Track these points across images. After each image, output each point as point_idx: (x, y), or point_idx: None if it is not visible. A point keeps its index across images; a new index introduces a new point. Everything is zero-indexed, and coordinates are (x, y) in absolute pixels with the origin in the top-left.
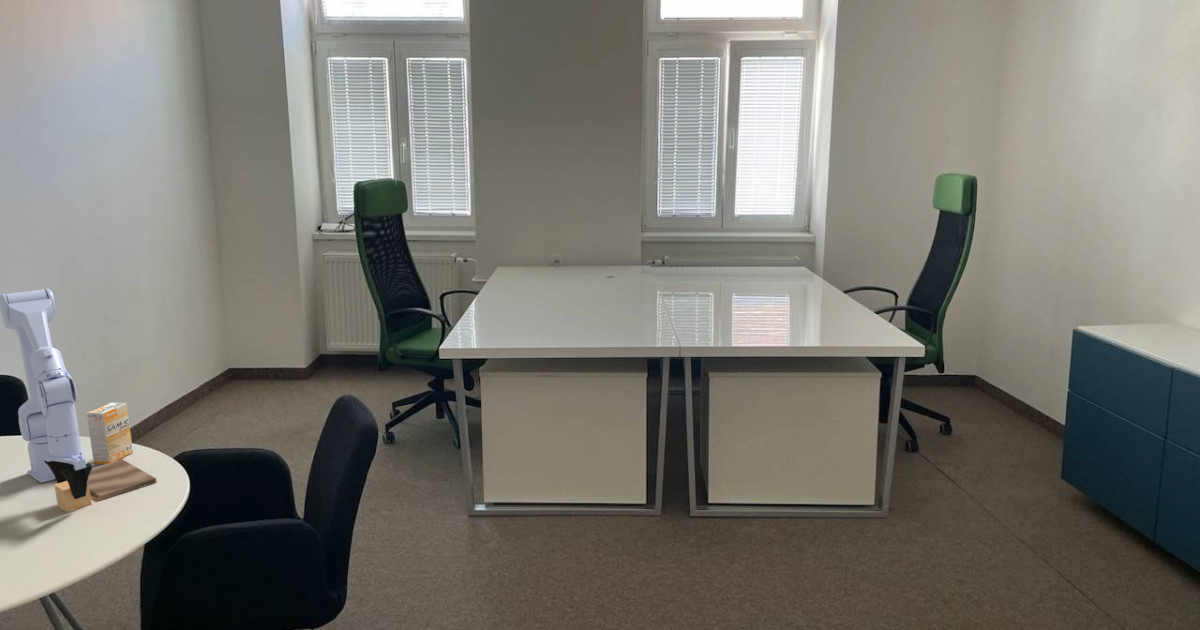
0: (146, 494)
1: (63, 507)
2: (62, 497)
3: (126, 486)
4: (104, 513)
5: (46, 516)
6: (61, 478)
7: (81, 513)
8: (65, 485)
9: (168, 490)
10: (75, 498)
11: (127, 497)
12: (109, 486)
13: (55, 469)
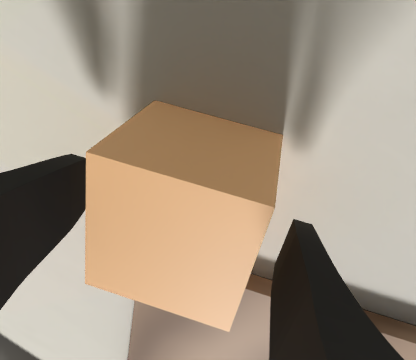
0: (63, 310)
1: (186, 115)
2: (152, 136)
3: (140, 335)
4: (4, 159)
5: (198, 6)
6: (293, 286)
7: (78, 120)
8: (172, 221)
9: (42, 340)
10: (66, 155)
11: None
12: (202, 325)
13: (309, 351)
